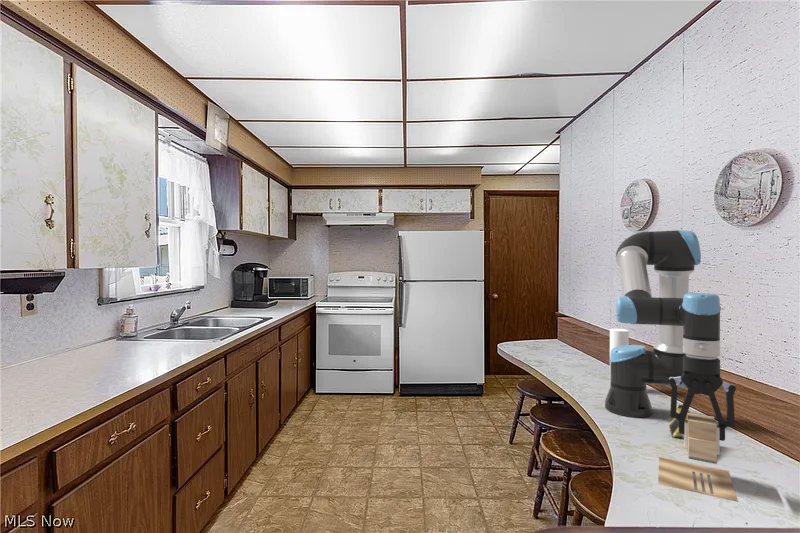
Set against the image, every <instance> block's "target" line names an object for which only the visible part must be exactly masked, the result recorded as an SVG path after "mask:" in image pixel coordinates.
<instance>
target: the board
mask: <svg viewBox="0 0 800 533" xmlns="http://www.w3.org/2000/svg"><path fill="white" fill-rule="evenodd" d="M657 475H658V482H657V483H658V484H659V485H662V486H666V487H671V488H676V489H679V490H684V491H689V492H694V493H696V494H697V493H698V494H701V495H707V496H710V497H715V498H718V499H719V498H720V499H722V500H723V499H724V500H729V501H733V502H737V503H739V501H738V498H737V494H736V491H735V488H734V484H733V481H732V478H731V474H730V471H729V470H726V469H721V468H715V467H711V466H705V465H703V464H702V465H701V464H696V463H691V462H686V461H681V460H676V459H672V458H666V457H660V456H658V474H657Z"/></svg>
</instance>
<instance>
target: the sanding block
mask: <svg viewBox="0 0 800 533" xmlns="http://www.w3.org/2000/svg"><path fill="white" fill-rule="evenodd" d="M687 420H688V449H687V455H688V457H687V458H688V459H689V460H692V461H699V462H705V463H709V464H714V465H717V464H718V459H717V458H718V455H717V426H716V424H717V423H716V422H717V421H716V419H715V416H711V415H710V416H709V415H704V414H699V413H691V412H690V413H687Z"/></svg>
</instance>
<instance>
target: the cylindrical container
mask: <svg viewBox="0 0 800 533" xmlns="http://www.w3.org/2000/svg"><path fill="white" fill-rule="evenodd" d="M629 337H630V333H629V329H624V328H610V329H609V354H610V353H611V350H612V349H613V348H614V347H617V346H623V345H630V343H629V340H630V338H629Z"/></svg>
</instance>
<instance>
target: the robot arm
mask: <svg viewBox="0 0 800 533" xmlns="http://www.w3.org/2000/svg"><path fill="white" fill-rule="evenodd" d="M701 253H702V252H701V246H700V242H699V239H698V236H697V234H696V233H695V232H694V231H692V230H682V229H681V230H680V229H679V230H678V229H677V230H675V229H674V230H661V231H659V230H655V231H654V230H653V231H648V230H647V231H641V232H637V233H634V234H631V235H630V236H628V237H627V238H625V239H624V240H623V241H622V242H621V244H619V245H618V248H617V250H616V251H615V262H616V264H617V266H618V267H619V270H620V271H619V272H620V282H621V292H622V296H618V297H617V298H616V300H615V313H616V315H615V316H616V320H617V322H618V323H621V324H630V325H650V326H651V325H653V326H654V325H656V326H657V325H658V341H657V342H656V343H654V344H653V346H652V347H653V350H648V349H647V347H646V346H645V345H640V344H629V345H623V346H617V347H614V348H613V349H612V350H611V353H610V352H609V390H608V392H607V394H606V397H605V400H604V407H605V409H606V410H607V411H609V412H611V413H613V414H616V415H619V416H625V417H631V418H646V417H650V416H652V414H653V406H652V404H651V400H650V398H649V395H648V392H647V384H651V385H661V386H670V387H671V389H670V390H671V391H670V392H671V393H670V411H669V412H670V413H669V414H670V417H671V418H672V419H674V418H676V419H678V421H679V433H680V434H684V436H683V440H684V441H683V443H684V444H683V446H684V450H688V420H686V419H685V418H686V415H687V413H688V410H689V411H690V407H691V404H692V401H693V399H694V397H695V395H703V396H708V397H709V400H710V402H711V406H712V409H713V411H714V414H715V418H716V422H717V423H716V426H717V456H720V442H721V441H722V442H724V441H725V440H726V428H729V427H731V428H734V427H735V426H736V421H735V405H734V404H735V402H734V401H735V400H734V396H735V393H736V391H737V387H736V385H735V384H734V383H732V382H730V383H729V382H726V381H724V380H723V379H722V377H721V360H720V358H719V357H720V356H721V310H722V308H721V300H720V297H719V295H717V294H715V293H706V292H689V289H690V288H689V286H690V285H689V282H690V281H689V280H690V279H689V278H690V275H691V274H692V273H693V272H695V266H699V265H700V264H701V262H702V261H701V259H702V255H701ZM647 266H654V268H653V270H654V272H656V274H658V297H654V296H652V291H651V290H652V288H651V285H650V284H651V283H650V278H649V274H648V268H647ZM680 387H681V388H687V391H686V394H685V398H684V400H683V403H682V404H681V405H682V408H681V411H680V413H677V412H676V410H677V408H678V407H677V406H678V404H677V403H678V388H680ZM721 387H723V391H724V392H725V402H726V403H725V405H726V419H724V418H723V414H722V412H721V409H720V406H719V404H718V400H717V397H716V394H715V392H717V390H719V388H721Z"/></svg>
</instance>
